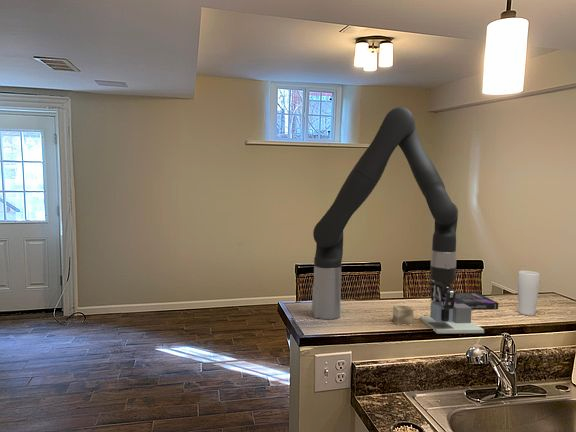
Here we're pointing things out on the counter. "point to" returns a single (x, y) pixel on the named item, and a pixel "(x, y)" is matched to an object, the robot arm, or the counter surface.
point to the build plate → (455, 322)
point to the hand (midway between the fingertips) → (441, 317)
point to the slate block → (439, 312)
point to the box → (475, 301)
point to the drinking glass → (528, 292)
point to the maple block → (403, 315)
